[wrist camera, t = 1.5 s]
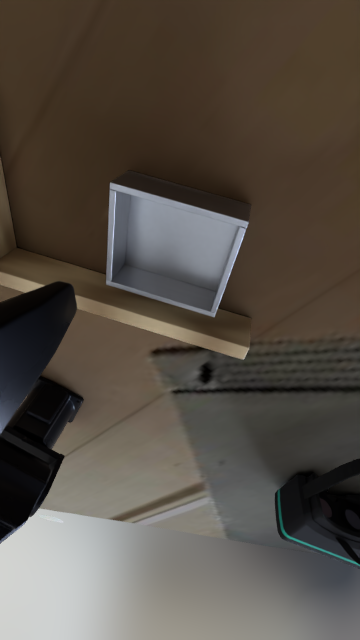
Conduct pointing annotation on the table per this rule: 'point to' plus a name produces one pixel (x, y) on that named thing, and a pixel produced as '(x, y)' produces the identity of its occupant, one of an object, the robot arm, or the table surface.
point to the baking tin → (172, 241)
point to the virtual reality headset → (321, 515)
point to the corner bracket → (117, 296)
